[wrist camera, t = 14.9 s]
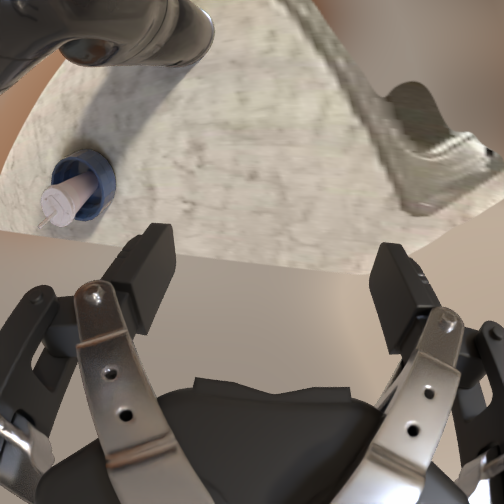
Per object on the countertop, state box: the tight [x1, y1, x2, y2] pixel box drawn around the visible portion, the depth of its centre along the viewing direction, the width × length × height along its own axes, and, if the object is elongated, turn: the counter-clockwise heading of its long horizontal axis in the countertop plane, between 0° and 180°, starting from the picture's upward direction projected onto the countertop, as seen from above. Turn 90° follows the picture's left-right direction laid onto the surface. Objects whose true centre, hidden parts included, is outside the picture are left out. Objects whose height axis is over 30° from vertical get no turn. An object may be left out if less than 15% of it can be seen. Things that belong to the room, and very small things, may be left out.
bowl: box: [51, 149, 116, 221], centre depth 40 cm, size 11×11×4 cm
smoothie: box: [38, 171, 98, 229], centre depth 35 cm, size 6×6×14 cm
